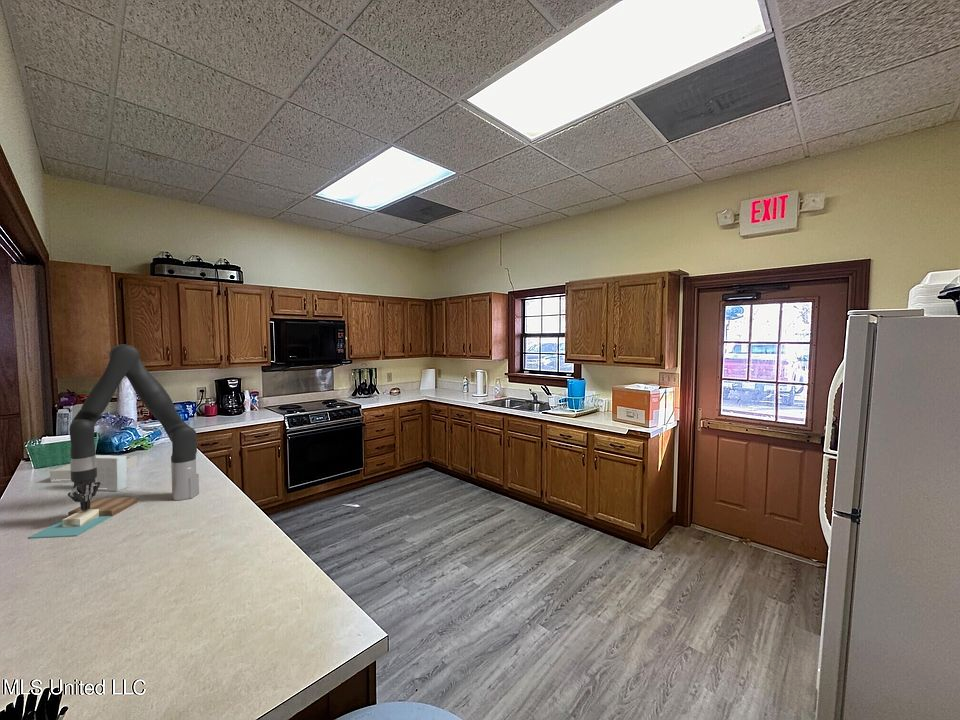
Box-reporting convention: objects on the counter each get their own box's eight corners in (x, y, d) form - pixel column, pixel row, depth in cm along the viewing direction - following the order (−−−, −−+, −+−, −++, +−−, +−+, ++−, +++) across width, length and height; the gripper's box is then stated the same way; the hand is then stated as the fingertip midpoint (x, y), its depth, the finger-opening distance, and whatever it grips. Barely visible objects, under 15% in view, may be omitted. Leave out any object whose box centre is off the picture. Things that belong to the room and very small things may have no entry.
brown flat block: (136, 502, 178) (136, 497, 178) (112, 516, 164) (111, 510, 164) (96, 504, 176) (96, 498, 176) (68, 518, 162) (68, 512, 162)
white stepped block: (137, 466, 228) (137, 455, 228) (103, 481, 204) (102, 469, 204) (90, 467, 225) (90, 457, 225) (50, 482, 201) (49, 471, 201)
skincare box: (128, 487, 196) (127, 455, 195) (117, 491, 190) (116, 458, 190) (89, 485, 198) (88, 454, 197) (77, 489, 193) (76, 457, 192)
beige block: (99, 516, 163) (98, 509, 163) (80, 526, 154) (79, 518, 154) (82, 516, 163) (82, 509, 162) (62, 527, 154) (62, 519, 153)
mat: (111, 517, 164) (111, 516, 164) (76, 536, 148) (76, 535, 148) (67, 518, 162) (67, 517, 162) (27, 538, 146) (27, 537, 146)
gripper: (80, 472, 154) (81, 516, 155) (107, 462, 167) (109, 502, 168) (58, 473, 153) (60, 517, 154) (87, 462, 166) (89, 503, 167)
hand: (85, 509), depth 161 cm, fingers closed
